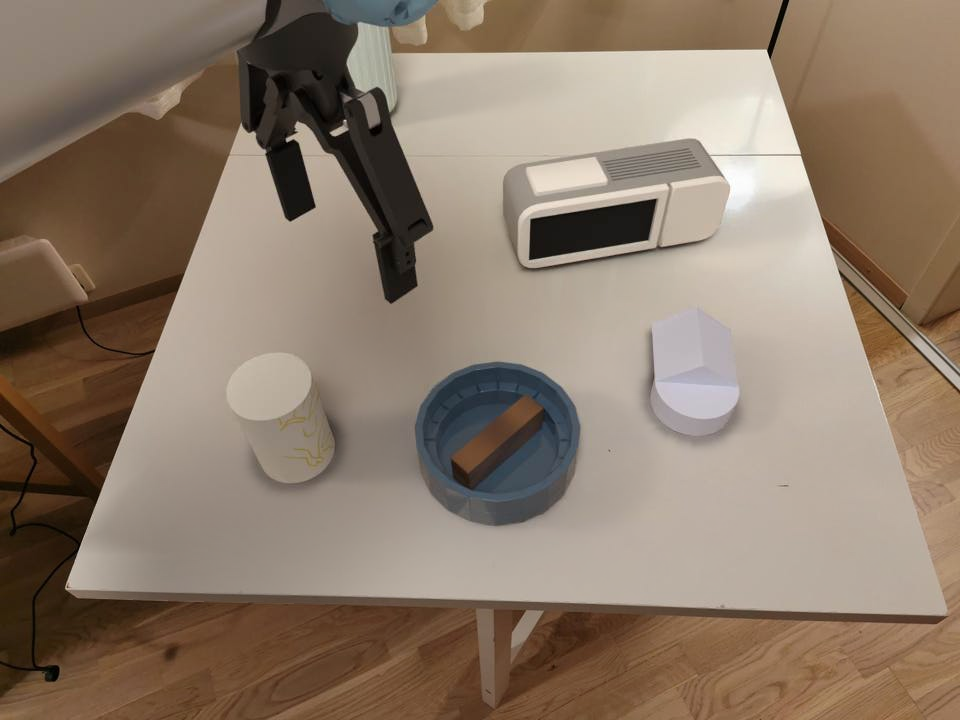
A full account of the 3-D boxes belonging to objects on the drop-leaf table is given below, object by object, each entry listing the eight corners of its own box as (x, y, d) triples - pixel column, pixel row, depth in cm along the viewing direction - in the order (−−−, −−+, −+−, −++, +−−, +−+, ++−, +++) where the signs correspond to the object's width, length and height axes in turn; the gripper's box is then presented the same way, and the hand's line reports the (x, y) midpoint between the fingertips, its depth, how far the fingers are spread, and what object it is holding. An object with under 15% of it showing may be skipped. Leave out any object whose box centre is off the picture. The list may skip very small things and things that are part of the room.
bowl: (497, 561, 69) (496, 534, 64) (389, 456, 76) (381, 426, 72) (607, 457, 76) (614, 426, 71) (498, 370, 83) (497, 337, 79)
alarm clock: (518, 278, 93) (520, 206, 83) (502, 232, 98) (502, 160, 89) (714, 245, 96) (737, 172, 86) (688, 202, 101) (706, 129, 92)
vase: (407, 96, 121) (391, -42, 103) (387, 135, 114) (365, -7, 96) (344, 90, 123) (317, -47, 105) (320, 127, 116) (287, -13, 98)
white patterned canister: (313, 492, 74) (286, 430, 65) (246, 471, 76) (209, 407, 66) (347, 430, 79) (325, 363, 69) (282, 411, 80) (253, 344, 71)
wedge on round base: (647, 342, 85) (651, 432, 77) (656, 304, 80) (662, 397, 72) (723, 347, 85) (736, 439, 77) (737, 308, 79) (753, 403, 71)
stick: (469, 492, 73) (468, 473, 69) (452, 477, 74) (450, 457, 71) (542, 428, 77) (543, 407, 74) (524, 414, 78) (525, 393, 75)
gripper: (478, 28, 37) (487, 305, 53) (228, -93, 48) (299, 165, 65) (365, 84, 34) (411, 360, 50) (126, -60, 45) (228, 203, 62)
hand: (348, 250), depth 58 cm, fingers open, 13 cm apart
